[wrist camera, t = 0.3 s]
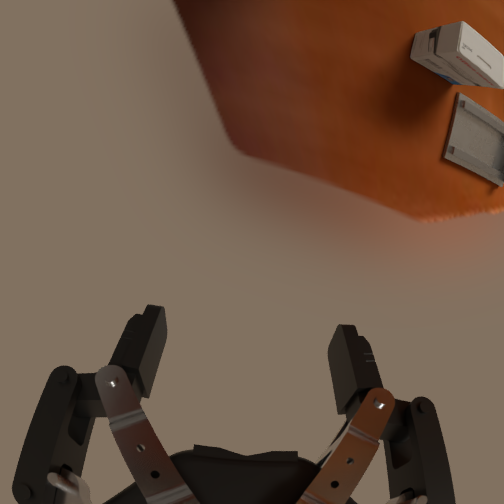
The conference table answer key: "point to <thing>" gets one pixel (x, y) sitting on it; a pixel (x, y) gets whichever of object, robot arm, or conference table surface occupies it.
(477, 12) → the conference table surface
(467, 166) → the grey plastic tray
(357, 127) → the conference table surface
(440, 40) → the ink box
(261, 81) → the conference table surface
